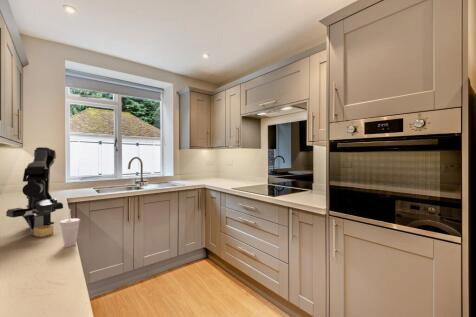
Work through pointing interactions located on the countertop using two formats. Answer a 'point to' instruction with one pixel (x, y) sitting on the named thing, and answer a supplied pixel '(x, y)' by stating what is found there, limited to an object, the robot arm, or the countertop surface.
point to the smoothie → (69, 230)
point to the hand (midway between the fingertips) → (36, 228)
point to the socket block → (43, 231)
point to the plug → (37, 222)
